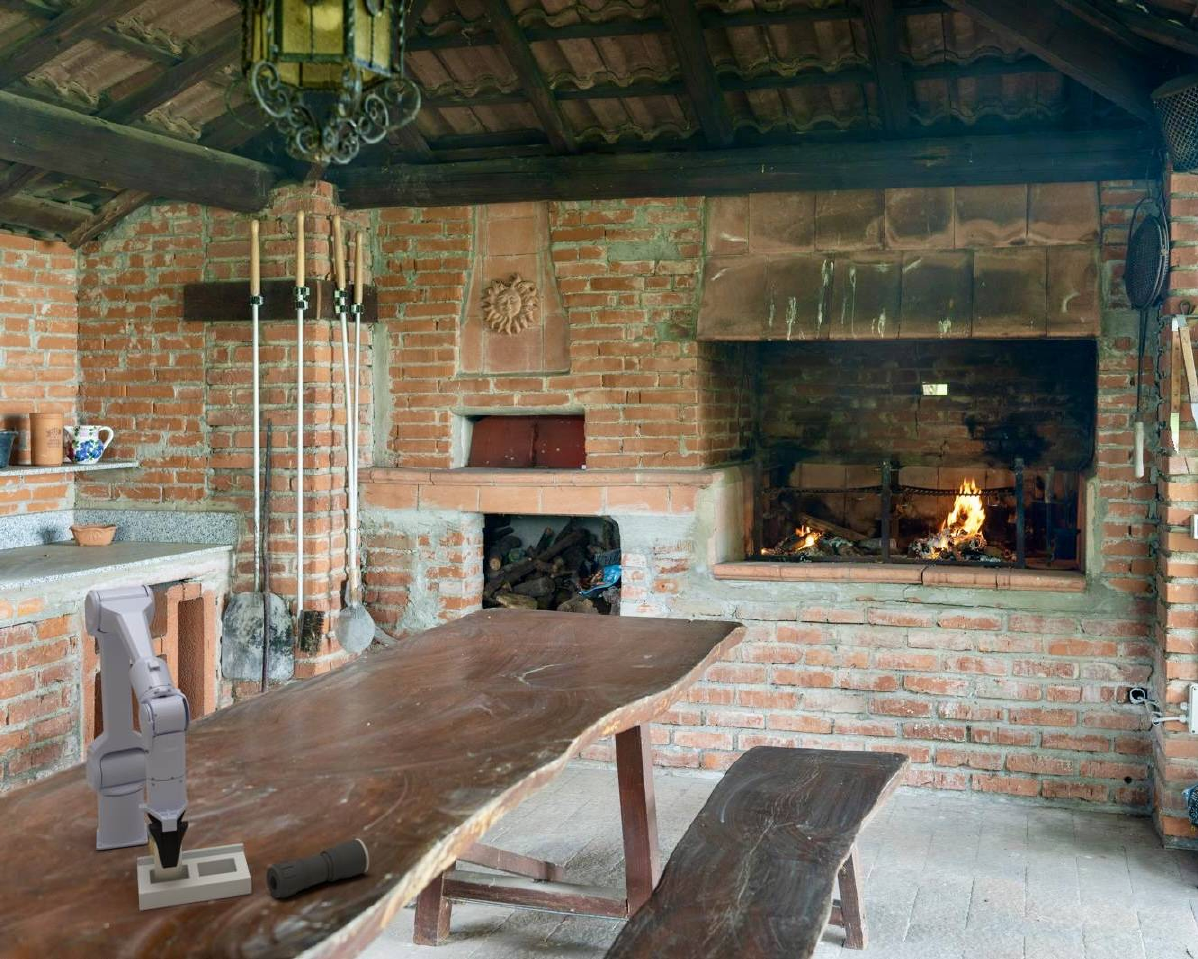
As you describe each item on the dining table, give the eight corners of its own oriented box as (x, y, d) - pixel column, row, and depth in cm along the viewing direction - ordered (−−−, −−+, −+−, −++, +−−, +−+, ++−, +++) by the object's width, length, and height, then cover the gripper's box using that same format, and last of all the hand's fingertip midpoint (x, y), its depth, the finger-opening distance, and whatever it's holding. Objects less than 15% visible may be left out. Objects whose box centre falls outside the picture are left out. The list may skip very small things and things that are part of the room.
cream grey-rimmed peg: (152, 869, 191) (151, 825, 190) (183, 865, 193) (182, 822, 192) (152, 881, 187) (151, 836, 186) (184, 877, 188) (183, 833, 188)
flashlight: (280, 906, 185) (279, 871, 184) (263, 894, 189) (262, 860, 188) (369, 877, 195) (368, 844, 195) (351, 866, 199) (351, 834, 199)
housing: (137, 879, 194) (136, 857, 193) (243, 864, 200) (242, 843, 199) (139, 910, 183) (138, 887, 182) (251, 893, 189) (250, 871, 188)
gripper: (136, 763, 193) (139, 847, 195) (139, 793, 180) (142, 883, 181) (184, 758, 196) (186, 841, 197) (190, 787, 183) (193, 876, 184)
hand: (168, 861), depth 189 cm, fingers closed on cream grey-rimmed peg, 4 cm apart
